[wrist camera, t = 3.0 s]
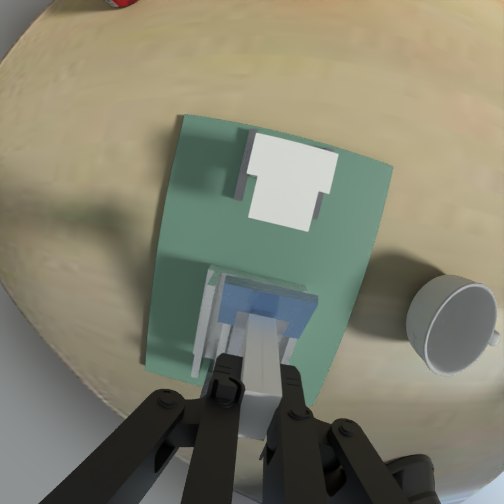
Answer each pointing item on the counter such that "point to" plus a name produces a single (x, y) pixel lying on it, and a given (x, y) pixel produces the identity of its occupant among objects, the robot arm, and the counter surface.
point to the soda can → (120, 2)
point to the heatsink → (209, 330)
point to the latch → (288, 180)
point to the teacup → (452, 323)
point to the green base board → (257, 246)
